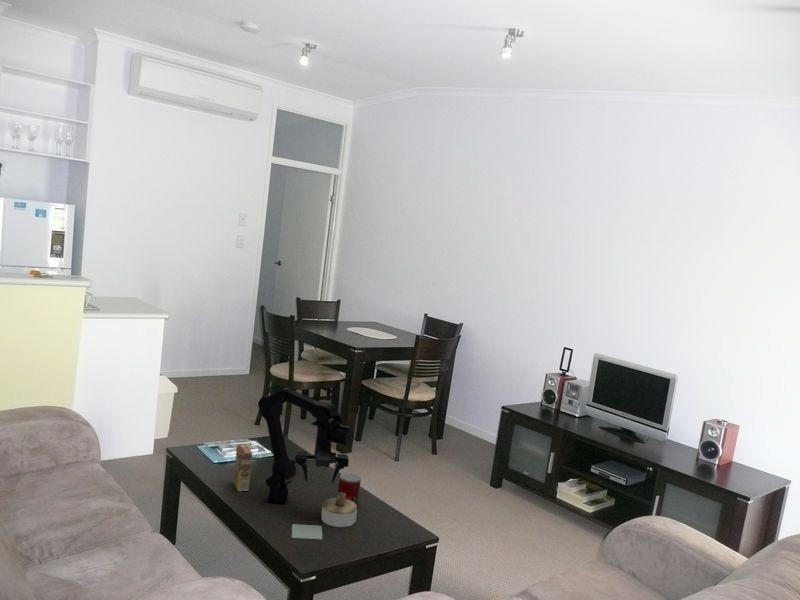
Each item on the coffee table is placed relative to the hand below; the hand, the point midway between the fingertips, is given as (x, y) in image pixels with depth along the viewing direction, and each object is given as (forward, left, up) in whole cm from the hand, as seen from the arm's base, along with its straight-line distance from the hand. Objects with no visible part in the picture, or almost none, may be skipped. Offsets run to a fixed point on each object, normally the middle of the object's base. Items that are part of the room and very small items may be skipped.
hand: (319, 482), depth 242 cm
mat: (-3, -15, -12) cm, 19 cm away
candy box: (-28, +20, -12) cm, 37 cm away
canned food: (+12, +10, -12) cm, 20 cm away
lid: (+8, -4, -7) cm, 11 cm away
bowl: (+8, -4, -12) cm, 15 cm away
